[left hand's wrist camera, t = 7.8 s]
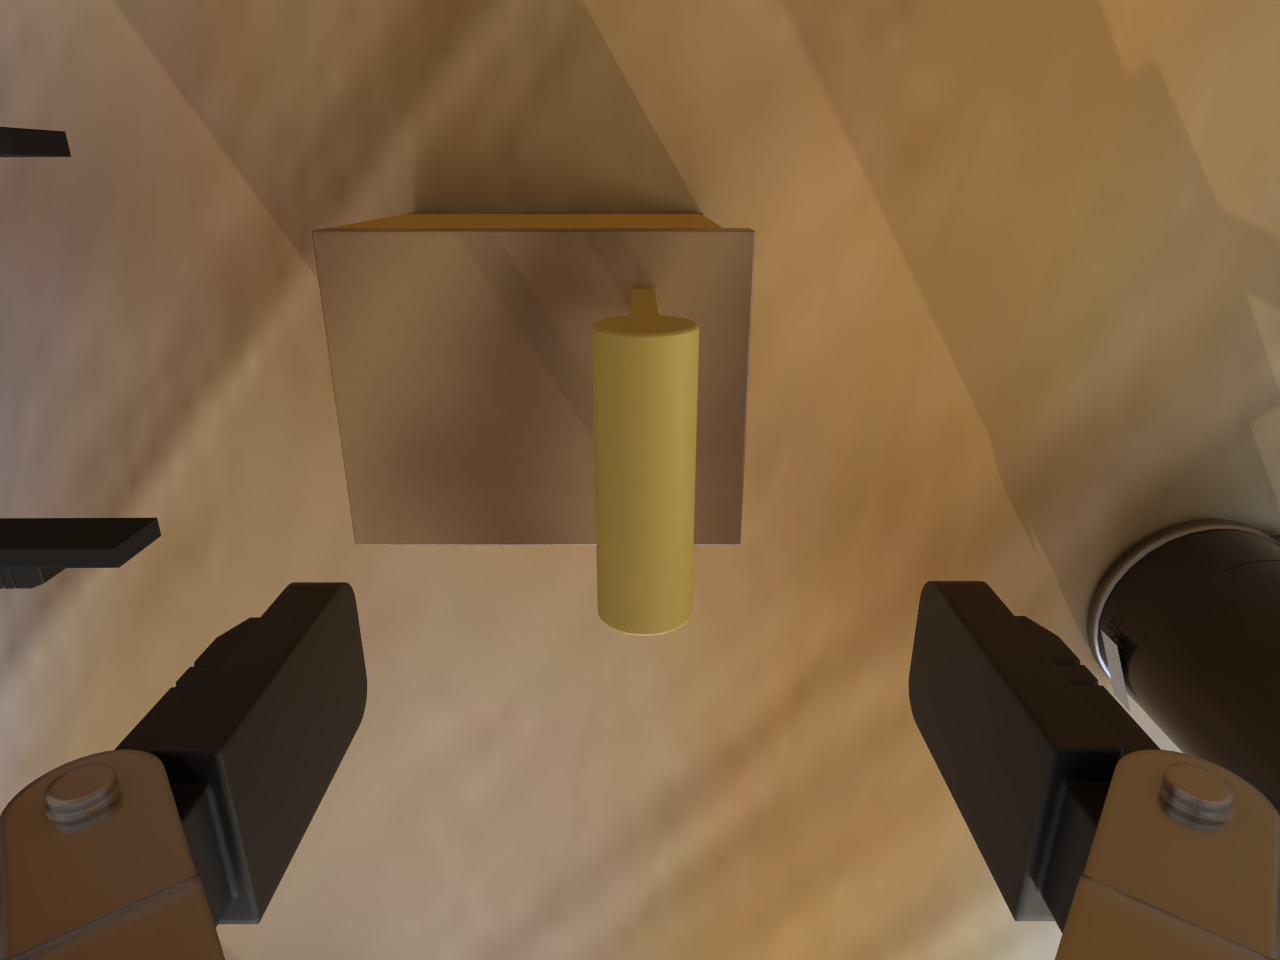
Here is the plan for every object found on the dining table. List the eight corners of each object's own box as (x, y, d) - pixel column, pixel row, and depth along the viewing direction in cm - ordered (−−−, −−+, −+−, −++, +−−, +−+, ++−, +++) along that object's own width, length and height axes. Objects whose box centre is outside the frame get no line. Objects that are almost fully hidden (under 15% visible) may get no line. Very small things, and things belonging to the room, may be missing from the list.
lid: (750, 228, 23) (812, 257, 15) (736, 531, 26) (780, 690, 18) (325, 228, 23) (154, 258, 15) (365, 531, 26) (244, 690, 18)
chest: (701, 212, 32) (725, 227, 23) (695, 440, 35) (714, 530, 26) (412, 212, 32) (325, 227, 23) (434, 441, 35) (366, 531, 26)
